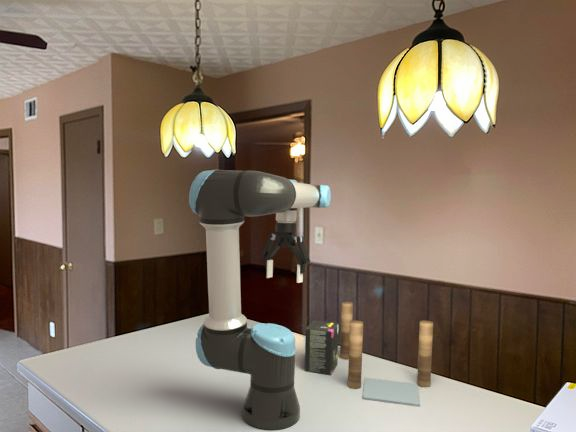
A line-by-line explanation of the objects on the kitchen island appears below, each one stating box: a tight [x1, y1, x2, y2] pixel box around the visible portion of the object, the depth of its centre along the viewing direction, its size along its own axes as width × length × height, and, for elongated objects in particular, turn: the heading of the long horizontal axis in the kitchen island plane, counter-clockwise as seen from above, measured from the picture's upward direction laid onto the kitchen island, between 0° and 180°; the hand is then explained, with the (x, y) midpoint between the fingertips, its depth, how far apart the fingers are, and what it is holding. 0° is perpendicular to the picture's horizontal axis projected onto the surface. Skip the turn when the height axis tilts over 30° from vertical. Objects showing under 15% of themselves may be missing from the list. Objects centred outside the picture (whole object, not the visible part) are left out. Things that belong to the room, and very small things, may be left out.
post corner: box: [347, 320, 364, 390], centre depth 136 cm, size 4×4×20 cm
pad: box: [362, 377, 421, 407], centre depth 133 cm, size 14×16×1 cm
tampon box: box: [304, 319, 340, 376], centre depth 150 cm, size 11×9×15 cm
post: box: [416, 319, 434, 388], centre depth 138 cm, size 4×4×20 cm
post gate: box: [339, 301, 354, 361], centre depth 159 cm, size 4×4×20 cm
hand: (284, 279), depth 162 cm, fingers open, 13 cm apart
